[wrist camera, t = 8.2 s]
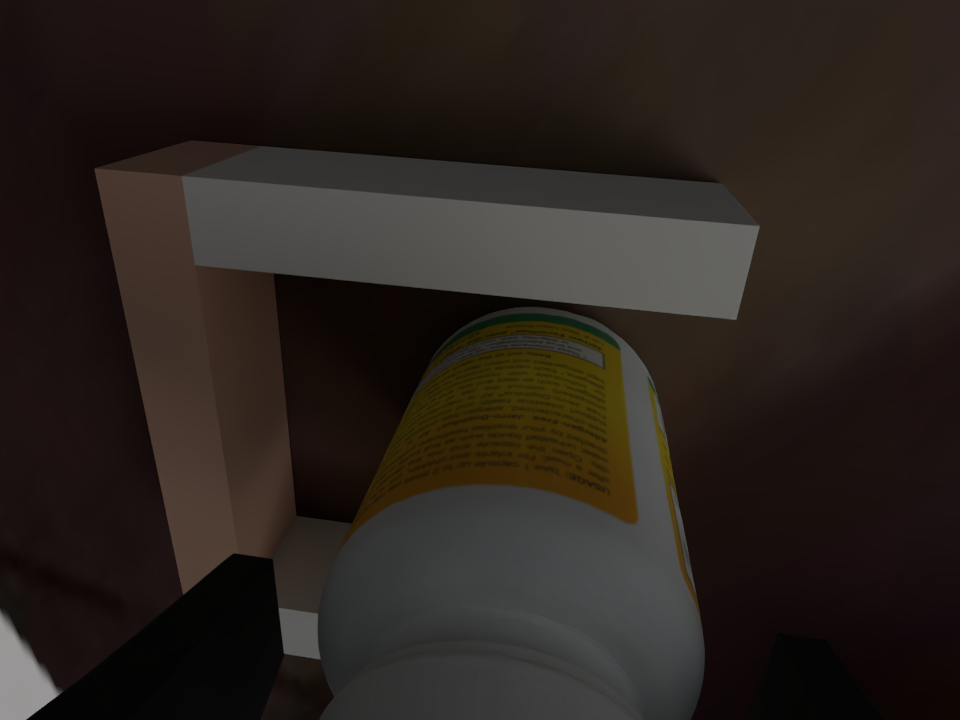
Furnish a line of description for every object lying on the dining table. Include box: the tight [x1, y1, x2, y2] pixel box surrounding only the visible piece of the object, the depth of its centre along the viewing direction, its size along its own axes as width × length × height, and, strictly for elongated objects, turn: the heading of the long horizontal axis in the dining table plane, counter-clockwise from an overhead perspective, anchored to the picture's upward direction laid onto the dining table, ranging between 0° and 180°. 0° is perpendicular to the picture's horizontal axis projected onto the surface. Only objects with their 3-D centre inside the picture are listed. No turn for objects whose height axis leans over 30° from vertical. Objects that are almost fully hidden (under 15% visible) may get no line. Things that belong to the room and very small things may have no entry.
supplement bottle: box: [318, 307, 705, 720], centre depth 11 cm, size 5×5×10 cm
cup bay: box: [94, 140, 760, 659], centre depth 14 cm, size 11×10×3 cm
